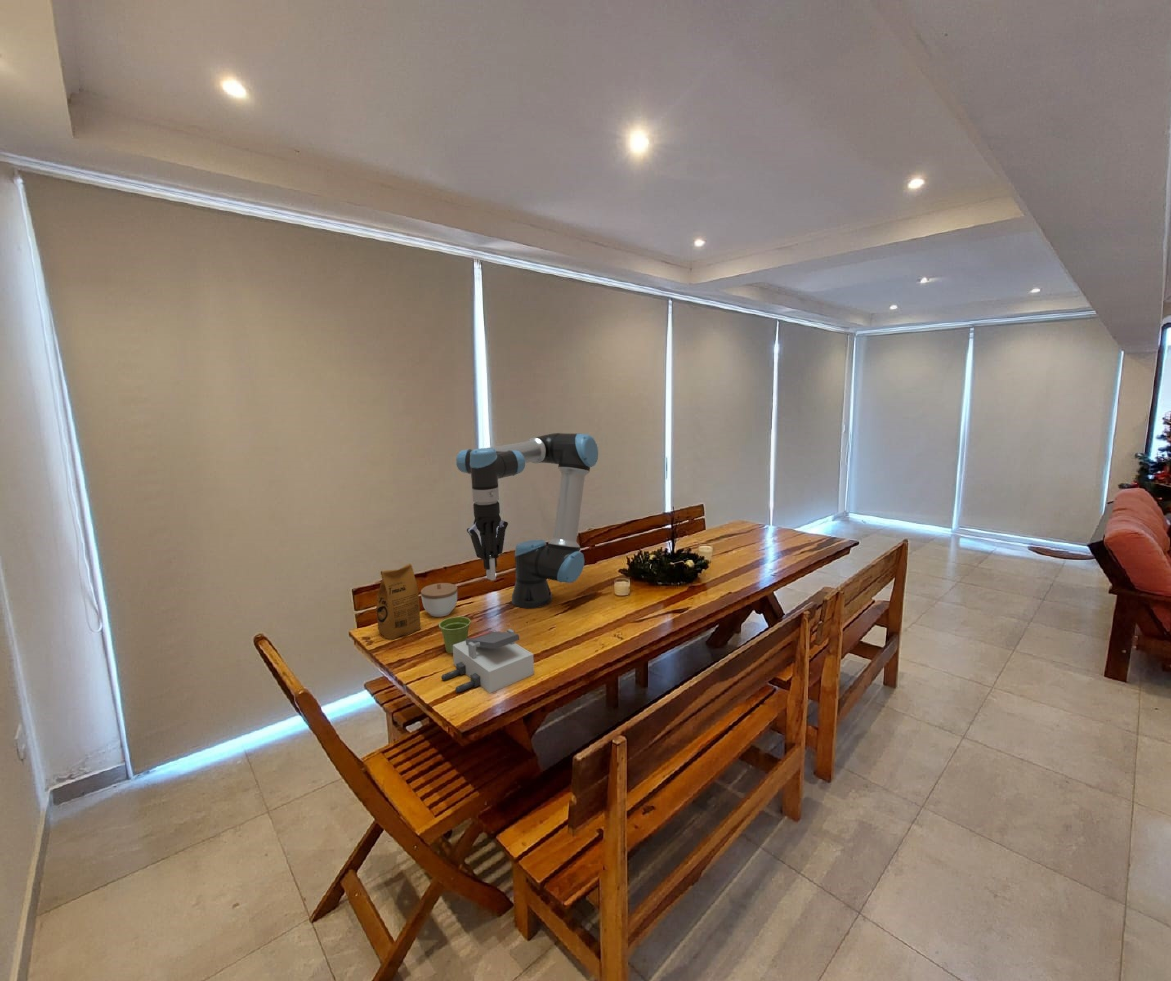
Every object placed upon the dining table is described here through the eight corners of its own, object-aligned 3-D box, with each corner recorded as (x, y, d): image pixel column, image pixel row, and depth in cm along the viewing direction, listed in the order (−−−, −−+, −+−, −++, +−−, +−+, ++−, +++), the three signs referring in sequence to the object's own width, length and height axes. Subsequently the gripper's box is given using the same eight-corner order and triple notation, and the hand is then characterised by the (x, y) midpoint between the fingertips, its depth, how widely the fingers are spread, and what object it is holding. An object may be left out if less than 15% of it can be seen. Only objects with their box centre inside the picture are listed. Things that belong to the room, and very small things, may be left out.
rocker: (494, 635, 152) (493, 629, 152) (523, 638, 140) (522, 632, 140) (462, 646, 145) (461, 640, 146) (490, 650, 133) (488, 644, 133)
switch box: (495, 649, 156) (494, 618, 155) (533, 674, 142) (533, 641, 140) (432, 672, 143) (430, 639, 141) (467, 703, 128) (465, 667, 127)
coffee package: (374, 633, 168) (369, 569, 164) (410, 621, 177) (405, 560, 173) (388, 642, 161) (383, 576, 157) (424, 630, 170) (420, 566, 166)
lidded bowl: (419, 610, 186) (417, 581, 185) (454, 603, 192) (452, 575, 190) (425, 623, 175) (423, 592, 173) (462, 615, 181) (460, 586, 179)
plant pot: (434, 649, 156) (433, 622, 155) (461, 639, 163) (460, 613, 162) (450, 660, 150) (448, 632, 148) (477, 649, 156) (476, 622, 155)
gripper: (473, 507, 141) (478, 588, 146) (512, 500, 150) (516, 576, 154) (459, 503, 146) (465, 581, 151) (498, 496, 155) (502, 570, 160)
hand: (491, 578), depth 153 cm, fingers closed
